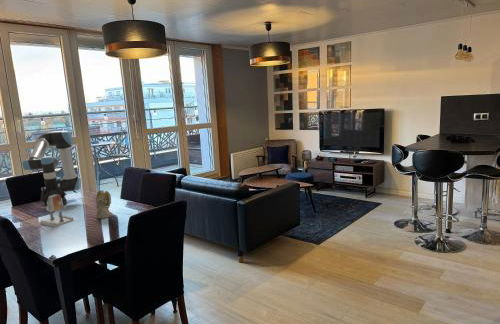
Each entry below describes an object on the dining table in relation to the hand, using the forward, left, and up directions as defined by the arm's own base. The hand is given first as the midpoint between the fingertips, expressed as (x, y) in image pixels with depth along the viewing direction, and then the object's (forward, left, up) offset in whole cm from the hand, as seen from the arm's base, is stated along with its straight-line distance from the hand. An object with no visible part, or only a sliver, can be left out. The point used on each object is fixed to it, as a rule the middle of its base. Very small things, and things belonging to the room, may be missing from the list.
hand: (55, 208), depth 246 cm
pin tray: (0, 0, -10) cm, 10 cm away
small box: (0, 0, -1) cm, 1 cm away
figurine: (-22, +24, -11) cm, 34 cm away
